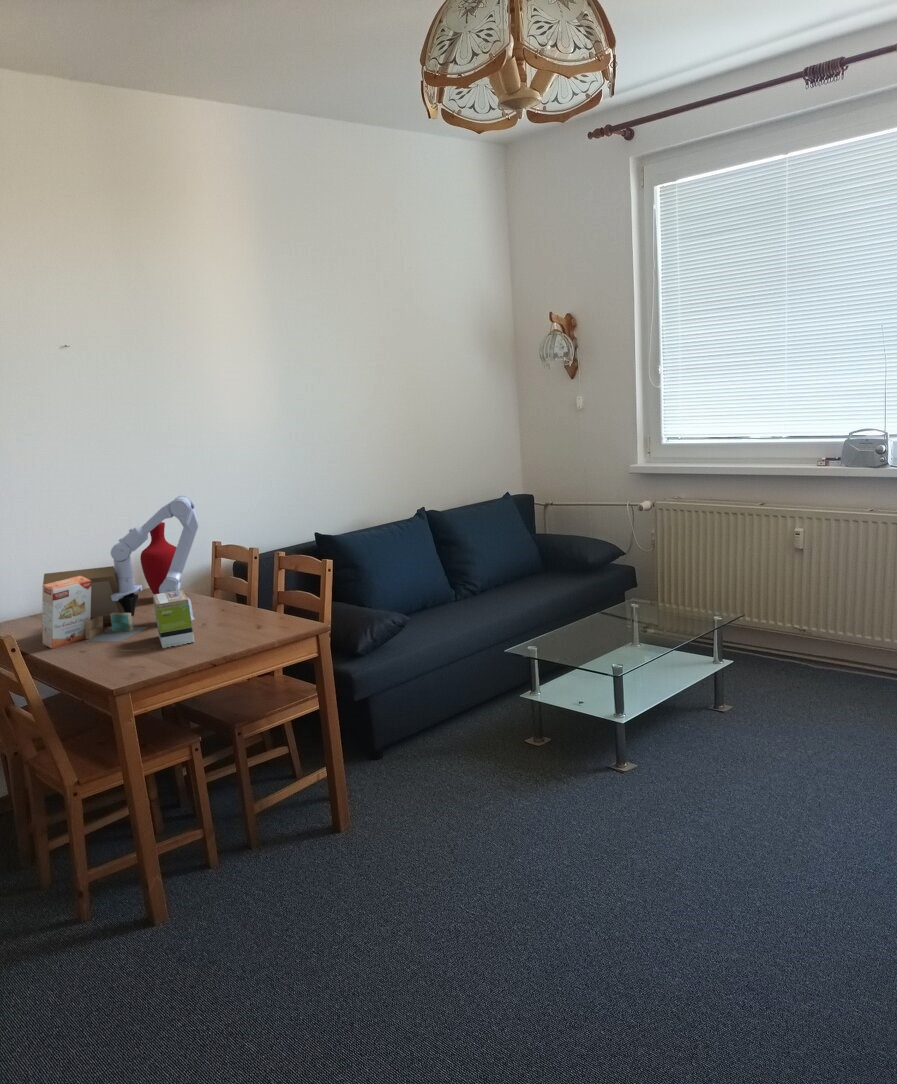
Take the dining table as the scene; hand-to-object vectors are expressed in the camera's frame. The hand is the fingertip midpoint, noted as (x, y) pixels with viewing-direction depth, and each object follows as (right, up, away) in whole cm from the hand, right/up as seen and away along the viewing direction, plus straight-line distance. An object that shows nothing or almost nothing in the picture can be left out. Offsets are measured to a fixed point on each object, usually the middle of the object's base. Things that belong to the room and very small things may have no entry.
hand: (130, 616), depth 292 cm
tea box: (+22, -6, -19) cm, 30 cm away
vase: (-1, +3, +40) cm, 40 cm away
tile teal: (-1, -5, -4) cm, 6 cm away
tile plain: (-9, -6, -9) cm, 14 cm away
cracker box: (-16, -7, -13) cm, 22 cm away
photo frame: (-16, +2, +10) cm, 19 cm away
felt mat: (-2, -6, -8) cm, 10 cm away
